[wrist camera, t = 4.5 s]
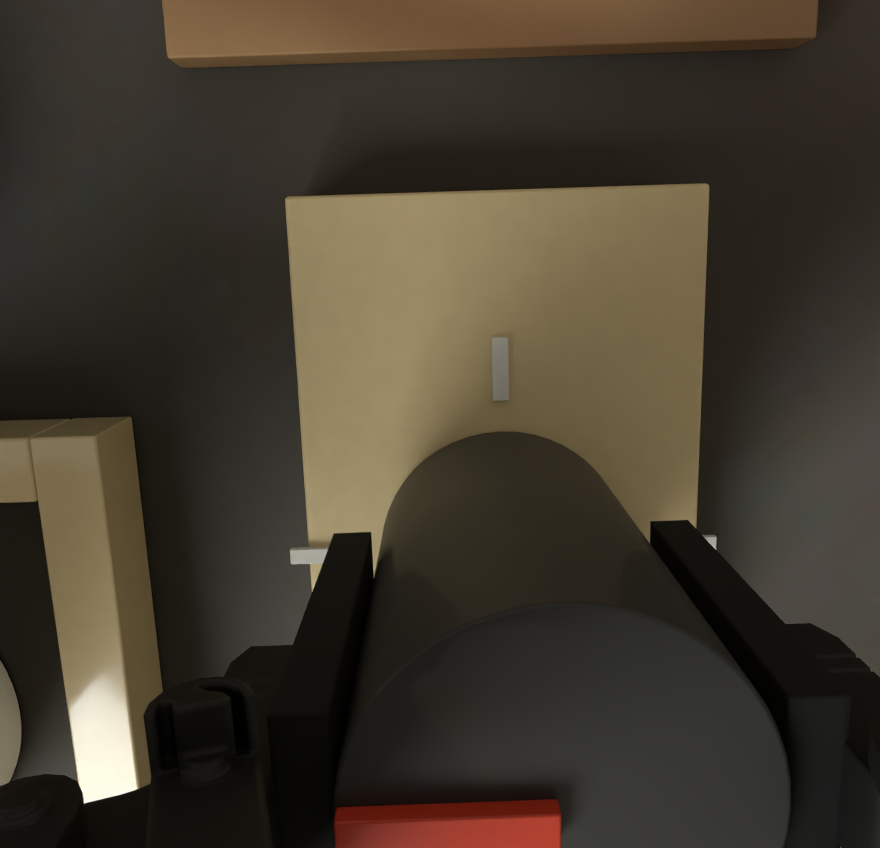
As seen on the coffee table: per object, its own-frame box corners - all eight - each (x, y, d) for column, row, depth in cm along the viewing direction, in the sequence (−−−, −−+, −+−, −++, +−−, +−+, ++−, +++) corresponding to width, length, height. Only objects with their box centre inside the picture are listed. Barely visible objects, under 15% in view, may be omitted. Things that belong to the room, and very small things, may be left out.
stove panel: (282, 202, 19) (263, 196, 17) (699, 189, 19) (732, 181, 17) (317, 699, 22) (304, 747, 20) (681, 687, 22) (708, 734, 19)
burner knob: (625, 425, 18) (818, 606, 9) (622, 655, 19) (791, 1022, 10) (375, 435, 18) (312, 624, 9) (388, 664, 19) (345, 1037, 10)
